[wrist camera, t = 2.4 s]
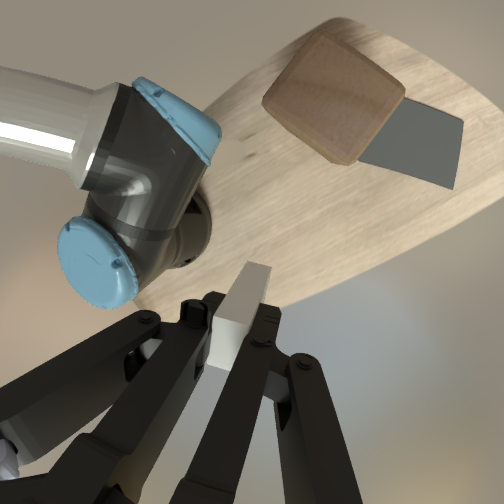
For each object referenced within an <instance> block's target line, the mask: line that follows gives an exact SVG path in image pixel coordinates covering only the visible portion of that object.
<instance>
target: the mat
mask: <svg viewBox="0 0 504 504" xmlns="http://www.w3.org/2000/svg"><path fill="white" fill-rule="evenodd" d="M463 124H464V121H461V120H459V119H457V118H455V117H452V116H450V115H448V114H445V113H443V112H440V111H438V110H435V109H433V108H430V107H427V106H425V105H422V104H419V103H417V102H414V101H411V100H408V99H405V98H403V100H402V101H401V102H400V104H399V105H398V107H397V108H396V109H395V111H394V112H393V113H392V115H391V116H390V117H389V119H388V120H387V121H386V123H385V124H384V125H383V127H382V128H381V129H380V131H379V132H378V133H377V135H376V136H375V137H374V138H373V140H372V141H371V142H370V144H369V145H368V146H367V148H366V149H365V150H364V152H363V153H362V154H361V156H360V157H359V160H358V161H360V162H364V163H368V164H372V165H375V166H379V167H383V168H386V169H390V170H393V171H397V172H400V173H403V174H406V175H410V176H413V177H416V178H419V179H422V180H425V181H428V182H431V183H434V184H437V185H440V186H443V187H446V188H448V189H451V190H453V187H454V182H455V177H456V172H457V166H458V161H459V154H460V148H461V141H462V133H463Z"/></svg>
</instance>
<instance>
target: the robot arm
mask: <svg viewBox="0 0 504 504" xmlns="http://www.w3.org/2000/svg"><path fill="white" fill-rule="evenodd" d="M221 137H222V131H221V128H220V126H219V124H218V123H217V122H216V121H214V120H213V119H212V118H210V117H209V116H207V115H206V114H204V113H203V112H201V111H200V110H198V109H196V108H195V107H193V106H192V105H190V104H189V103H187V102H185V101H184V100H182V99H180V98H179V97H177V96H176V95H174V94H172V93H170V92H169V91H167V90H165V89H164V88H161V87H160V86H158V85H157V84H155V83H153V82H151V81H150V80H148V79H146V78H144V77H138V78H137V79H136V80H135V81H133V82H132V87H129V86H126V85H124V84H121V83H118V82H115V83H112V84H110V85H108V86H105V87H103V88H101V89H98V90H92V89H89V88H86V87H82V86H79V85H76V84H72V83H69V82H65V81H61V80H58V79H54V78H50V77H46V76H43V75H38V74H34V73H30V72H26V71H21V70H17V69H12V68H7V67H2V66H0V155H4V156H9V157H13V158H18V159H22V160H27V161H31V162H35V163H40V164H44V165H48V166H52V167H56V168H60V169H65V170H66V171H67V172H68V173H69V175H70V177H71V179H72V180H73V182H74V184H75V186H76V188H79V189H83V190H87V191H89V194H88V197H87V200H86V203H85V207H84V210H83V213H82V215H81V216H78V217H73V218H72V219H71V220H70V221H69V222H68V223H66V224H65V225H64V226H63V227H62V229H61V231H60V233H59V236H58V245H57V250H58V257H59V261H60V264H61V267H62V270H63V271H64V273H65V276H66V278H67V280H68V282H69V283H70V285H71V286H72V287H73V289H74V290H75V291H76V292H77V293H78V294H79V295H80V296H81V297H82V298H83V299H84V300H86V301H87V302H89V303H90V304H92V305H94V306H96V307H98V308H102V309H115V308H118V307H120V306H122V305H123V304H125V303H126V302H128V301H130V300H132V299H134V298H135V296H136V295H137V294H138V293H139V292H140V291H142V290H143V289H144V288H145V287H146V286H147V285H149V284H150V283H151V282H152V281H153V280H155V279H156V278H157V277H158V276H159V275H161V274H162V273H163V272H164V271H165V270H167V269H175V268H181V267H184V266H186V265H188V264H190V263H192V262H193V261H194V260H196V259H197V258H198V257H199V256H200V255H201V254H202V253H203V252H204V250H205V249H206V247H207V245H208V243H209V240H210V236H211V217H210V213H209V210H208V208H207V205H206V204H205V202H204V200H203V199H202V197H201V196H200V195H199V194H198V193H197V192H196V191H195V190H196V188H197V186H198V184H199V182H200V180H201V179H202V177H203V175H204V173H205V171H206V169H207V167H210V165H211V159H212V157H213V155H214V153H215V151H216V148H217V146H218V145H219V143H220V141H221ZM271 269H272V267H270V266H265V265H261V264H257V263H253V262H249V261H247V263H246V264H245V266H244V267H243V269H242V271H241V272H240V274H239V275H238V277H237V279H236V280H235V282H234V283H233V285H232V287H231V288H230V290H229V291H228V293H227V295H226V294H222V293H219V292H215V291H212V292H210V293H208V294H206V295H205V296H204V298H203V299H202V300H197V299H189V300H185V301H183V302H182V303H181V310H180V320H179V321H178V322H177V323H169V322H161V318H160V316H159V315H158V314H157V313H156V312H154V311H151V310H139V311H137V312H134V313H133V314H131V315H129V316H127V317H125V318H124V319H122V320H120V321H118V322H116V323H115V324H113V325H111V326H109V327H107V328H106V329H104V330H102V331H100V332H98V333H97V334H95V335H93V336H91V337H90V338H88V339H86V340H84V341H83V342H81V343H79V344H77V345H76V346H74V347H72V348H70V349H68V350H66V351H65V352H63V353H61V354H59V355H58V356H56V357H54V358H52V359H50V360H49V361H47V362H45V363H43V364H42V365H40V366H38V367H36V368H35V369H33V370H31V371H29V372H28V373H26V374H24V375H23V376H20V377H19V378H17V379H15V380H13V381H12V382H10V383H8V384H6V385H5V386H3V387H1V388H0V504H138V502H139V499H140V496H141V491H142V487H143V485H144V483H145V481H146V479H147V477H148V475H149V473H150V472H151V470H152V468H153V466H154V464H155V462H156V461H157V459H158V457H159V455H160V453H161V451H162V449H163V447H164V445H165V443H166V442H167V439H168V438H169V436H170V434H171V432H172V430H173V428H174V426H175V424H176V423H177V421H178V419H179V417H180V415H181V413H182V411H183V409H184V407H185V405H186V404H187V402H188V400H189V398H190V396H191V394H192V392H193V390H194V388H195V386H196V384H197V382H198V380H199V379H200V377H201V375H202V373H203V370H204V363H205V361H206V359H207V357H208V359H207V364H208V365H211V366H215V367H218V368H221V369H225V370H228V371H230V373H229V376H228V378H227V380H226V383H225V385H224V388H223V390H222V392H221V395H220V397H219V400H218V402H217V404H216V407H215V409H214V411H213V414H212V416H211V418H210V421H209V423H208V425H207V428H206V430H205V432H204V435H203V437H202V439H201V442H200V444H199V446H198V448H197V451H196V453H195V455H194V457H193V460H192V462H191V464H190V466H189V469H188V471H187V473H186V475H185V477H184V478H182V479H181V480H180V482H179V484H178V485H177V487H176V490H175V492H174V494H173V496H172V498H171V500H170V502H169V504H233V502H234V499H235V494H236V489H237V486H238V482H239V479H240V476H241V472H242V469H243V466H244V462H245V459H246V455H247V452H248V448H249V444H250V441H251V438H252V433H253V430H254V427H255V423H256V419H257V416H258V412H259V408H260V404H261V400H262V396H263V395H264V396H266V397H268V398H270V399H272V400H273V401H274V412H275V421H276V429H277V437H278V445H279V454H280V462H281V471H282V478H283V487H284V496H285V504H363V502H362V499H361V495H360V492H359V488H358V485H357V481H356V478H355V474H354V471H353V467H352V464H351V461H350V457H349V454H348V451H347V447H346V444H345V441H344V437H343V434H342V431H341V428H340V424H339V421H338V418H337V415H336V411H335V408H334V405H333V402H332V399H331V396H330V393H329V389H328V386H327V383H326V380H325V377H324V374H323V371H322V368H321V365H320V363H319V361H318V360H317V359H316V358H315V357H313V356H311V355H309V354H305V353H296V354H293V355H291V357H289V356H287V355H285V354H284V353H282V352H281V351H280V350H279V349H278V348H277V347H276V344H275V341H276V337H277V332H278V328H279V323H280V318H281V314H282V313H281V311H280V309H279V307H275V306H271V305H267V304H264V299H265V295H266V291H267V286H268V282H269V278H270V273H271ZM131 351H133V352H131ZM130 352H131V353H130ZM111 405H112V407H111V408H110V409H109V411H108V412H107V413H106V415H105V416H104V417H103V419H102V420H101V421H100V423H99V424H98V425H97V427H96V428H95V429H94V430H93V431H92V432H91V433H81V434H79V435H78V436H77V437H76V438H75V439H74V440H73V441H72V443H71V444H70V445H69V447H68V448H67V449H66V450H65V452H64V453H63V454H62V456H61V457H60V458H59V459H58V461H57V462H56V463H55V464H54V466H53V467H52V468H51V470H50V471H49V472H48V473H45V474H40V475H34V476H29V477H23V478H19V470H18V467H20V466H23V465H26V464H29V463H31V462H33V461H36V460H37V459H39V458H40V457H42V456H44V455H45V454H47V453H48V452H49V451H51V450H52V449H54V448H55V447H56V446H58V445H59V444H60V443H62V442H63V441H65V440H66V439H67V438H69V437H70V436H71V435H73V434H74V433H76V432H77V431H78V430H80V429H81V428H82V427H84V426H85V425H86V424H88V423H89V422H90V421H92V420H93V419H94V418H96V417H97V416H98V415H99V414H101V413H102V412H103V411H105V410H106V409H107V408H109V407H110V406H111ZM9 479H10V480H9Z"/></svg>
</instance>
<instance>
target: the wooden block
mask: <svg viewBox="0 0 504 504" xmlns="http://www.w3.org/2000/svg"><path fill="white" fill-rule="evenodd" d="M404 96H405V87H404V86H403V85H402V83H400V82H399V81H398V80H397V79H395V78H394V77H393V76H392V75H390V74H389V73H388V72H386V71H385V70H384V69H382V68H381V67H380V66H378V65H377V64H376V63H374V62H373V61H372V60H370V59H369V58H367V57H366V56H364V55H363V54H361V53H360V52H358V51H357V50H355V49H354V48H352V47H351V46H349V45H348V44H346V43H345V42H343V41H341V40H340V39H338V38H336V37H335V36H333V35H331V34H330V33H328V32H326V31H323V30H319V31H317V32H316V33H314V34H313V35H312V36H311V37H310V38H309V39H308V40H307V42H306V43H305V44H304V45H303V46H302V48H301V49H300V50H299V51H298V53H297V54H296V55H295V56H294V57H293V59H292V60H291V61H290V62H289V64H288V65H287V66H286V68H285V69H284V70H283V71H282V73H281V74H280V75H279V76H278V78H277V79H276V80H275V82H274V83H273V84H272V86H271V87H270V88H269V90H268V91H267V92H266V94H265V95H264V96H263V100H262V106H263V107H264V109H265V110H266V111H267V112H268V113H269V114H270V115H271V116H272V117H274V118H275V119H276V120H277V121H278V122H279V123H280V124H281V125H282V126H283V127H284V128H285V129H286V130H288V131H289V132H290V133H292V134H293V135H295V136H296V137H297V138H299V139H300V140H302V141H303V142H304V143H306V144H307V145H309V146H310V147H311V148H313V149H314V150H315V151H317V152H318V153H319V154H321V155H322V156H323V157H325V158H326V159H327V160H328V161H330V162H331V163H334V164H338V165H344V166H349V165H351V164H353V163H355V162H356V161H357V159H358V158H359V157H360V156H361V154H362V153H363V152H364V150H365V149H366V148H367V146H368V145H369V144H370V142H371V141H372V140H373V138H374V137H375V136H376V135H377V133H378V132H379V131H380V129H381V128H382V127H383V125H384V124H385V123H386V121H387V120H388V119H389V117H390V116H391V115H392V113H393V112H394V111H395V109H396V108H397V107H398V105H399V104H400V102H401V101H402V100H403V98H404Z"/></svg>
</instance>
